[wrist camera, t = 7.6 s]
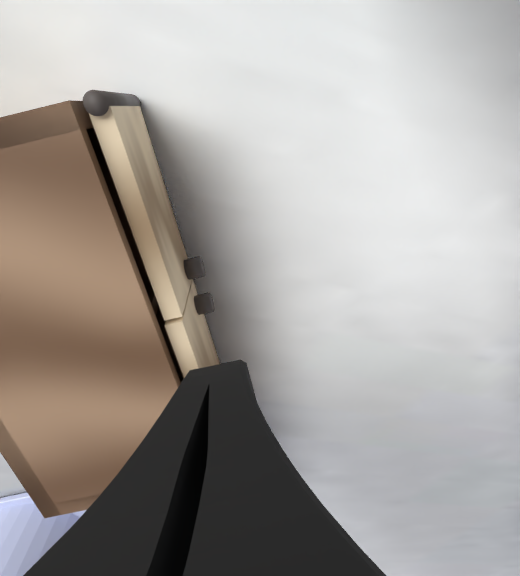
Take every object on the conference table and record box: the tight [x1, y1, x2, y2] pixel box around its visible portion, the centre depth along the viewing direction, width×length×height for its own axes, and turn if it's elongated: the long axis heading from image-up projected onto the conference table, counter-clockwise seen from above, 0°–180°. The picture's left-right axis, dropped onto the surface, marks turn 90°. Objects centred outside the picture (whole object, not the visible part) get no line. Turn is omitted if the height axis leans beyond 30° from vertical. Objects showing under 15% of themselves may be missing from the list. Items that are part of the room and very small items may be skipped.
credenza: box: [0, 90, 205, 518], centre depth 17 cm, size 16×10×5 cm, turn 12°
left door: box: [164, 279, 220, 378], centre depth 19 cm, size 8×1×5 cm, turn 13°
